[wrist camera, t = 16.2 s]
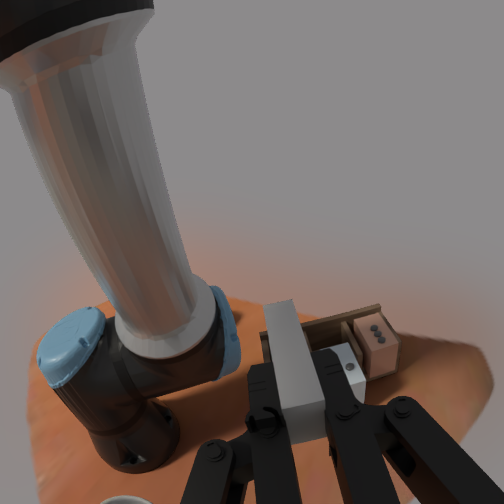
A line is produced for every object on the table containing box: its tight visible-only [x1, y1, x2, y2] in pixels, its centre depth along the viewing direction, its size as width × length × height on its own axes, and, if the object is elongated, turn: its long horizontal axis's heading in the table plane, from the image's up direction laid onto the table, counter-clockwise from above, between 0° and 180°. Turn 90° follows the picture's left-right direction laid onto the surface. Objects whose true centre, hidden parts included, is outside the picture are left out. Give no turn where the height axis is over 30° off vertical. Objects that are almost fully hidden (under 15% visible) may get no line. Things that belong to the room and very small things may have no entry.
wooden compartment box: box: [259, 304, 402, 382], centre depth 47 cm, size 10×21×8 cm, turn 94°
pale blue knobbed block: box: [320, 342, 366, 404], centre depth 40 cm, size 8×4×6 cm, turn 4°
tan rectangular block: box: [354, 313, 399, 378], centre depth 44 cm, size 8×4×6 cm, turn 4°
